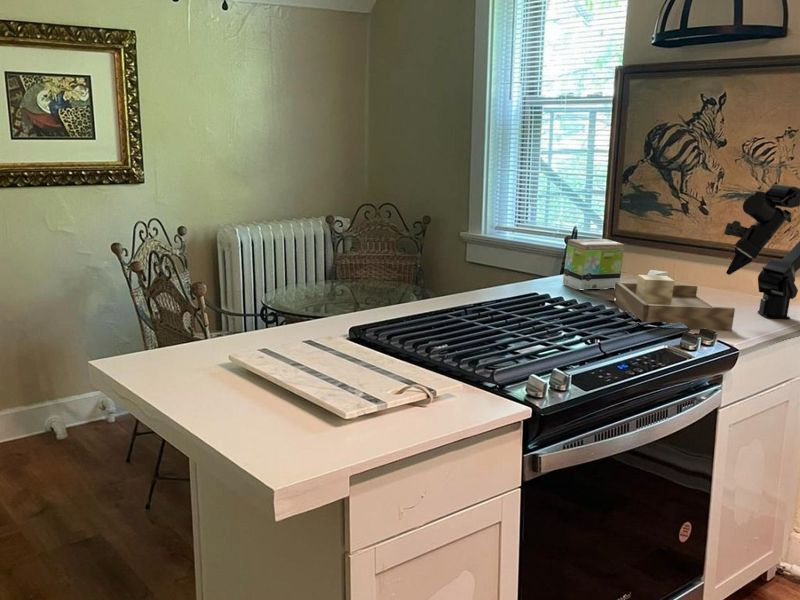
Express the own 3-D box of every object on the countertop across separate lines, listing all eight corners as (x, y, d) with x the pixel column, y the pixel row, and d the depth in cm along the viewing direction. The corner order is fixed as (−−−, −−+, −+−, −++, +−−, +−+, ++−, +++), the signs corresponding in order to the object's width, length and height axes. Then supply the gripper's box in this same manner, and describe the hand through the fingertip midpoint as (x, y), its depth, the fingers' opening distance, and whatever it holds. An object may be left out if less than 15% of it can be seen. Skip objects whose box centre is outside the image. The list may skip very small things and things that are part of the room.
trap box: (693, 305, 230) (695, 285, 229) (731, 330, 205) (735, 308, 203) (613, 301, 229) (615, 281, 228) (641, 327, 204) (644, 305, 202)
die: (673, 299, 239) (659, 269, 242) (681, 290, 231) (667, 260, 234) (647, 308, 239) (634, 278, 242) (654, 300, 231) (640, 270, 233)
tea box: (581, 292, 240) (586, 244, 236) (561, 284, 249) (566, 238, 245) (620, 289, 246) (625, 243, 243) (599, 282, 255) (604, 237, 251)
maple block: (663, 301, 219) (666, 275, 218) (670, 307, 214) (674, 280, 212) (635, 300, 219) (638, 274, 217) (641, 306, 213) (645, 279, 212)
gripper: (740, 213, 223) (704, 257, 227) (738, 208, 206) (700, 256, 210) (774, 235, 219) (738, 280, 224) (776, 233, 202) (736, 281, 207)
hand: (727, 274), depth 216 cm, fingers closed
